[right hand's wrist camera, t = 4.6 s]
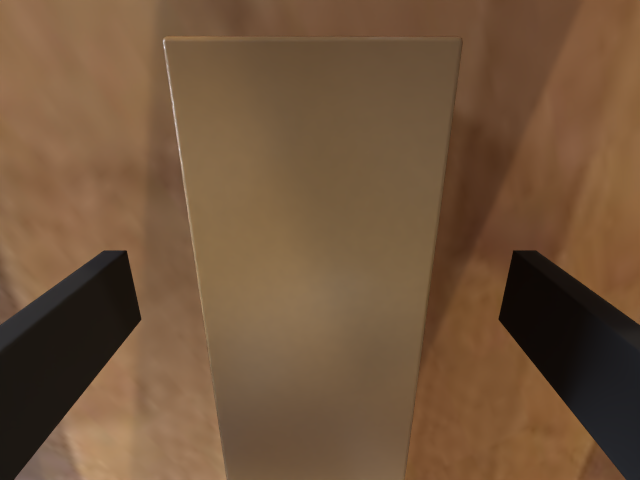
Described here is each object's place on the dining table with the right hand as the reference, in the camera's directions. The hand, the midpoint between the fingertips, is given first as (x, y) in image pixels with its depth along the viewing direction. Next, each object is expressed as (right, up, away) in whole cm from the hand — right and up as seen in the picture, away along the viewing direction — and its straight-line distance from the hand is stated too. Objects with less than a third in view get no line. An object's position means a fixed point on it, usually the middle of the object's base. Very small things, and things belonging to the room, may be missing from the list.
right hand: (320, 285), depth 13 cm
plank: (0, -17, +11) cm, 20 cm away
